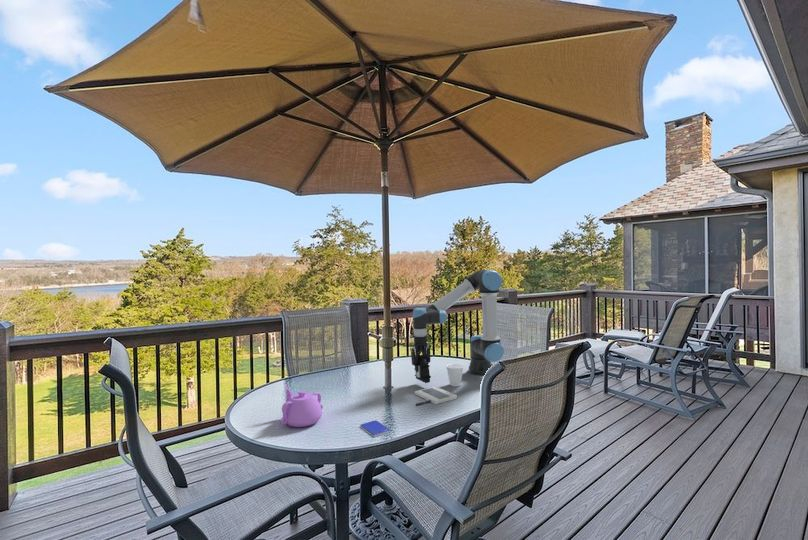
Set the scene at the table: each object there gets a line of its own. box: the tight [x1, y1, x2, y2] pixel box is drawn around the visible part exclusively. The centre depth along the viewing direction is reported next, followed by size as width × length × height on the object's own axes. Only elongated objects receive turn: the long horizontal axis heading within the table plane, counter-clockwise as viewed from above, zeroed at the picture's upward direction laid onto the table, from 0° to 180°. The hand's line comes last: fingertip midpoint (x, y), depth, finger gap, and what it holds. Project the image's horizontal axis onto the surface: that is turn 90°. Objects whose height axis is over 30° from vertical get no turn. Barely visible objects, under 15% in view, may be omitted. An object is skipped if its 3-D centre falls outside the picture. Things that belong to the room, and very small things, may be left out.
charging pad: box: [414, 386, 458, 406], centre depth 205 cm, size 23×18×2 cm
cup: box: [446, 363, 465, 387], centre depth 225 cm, size 10×10×11 cm
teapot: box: [280, 386, 324, 428], centre depth 179 cm, size 22×22×14 cm
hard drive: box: [359, 419, 392, 438], centre depth 169 cm, size 2×8×12 cm
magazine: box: [413, 354, 432, 384], centre depth 225 cm, size 4×13×15 cm, turn 29°
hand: (421, 376), depth 225 cm, fingers closed on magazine, 4 cm apart
